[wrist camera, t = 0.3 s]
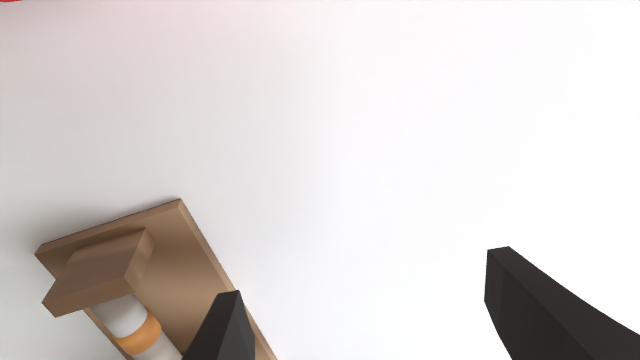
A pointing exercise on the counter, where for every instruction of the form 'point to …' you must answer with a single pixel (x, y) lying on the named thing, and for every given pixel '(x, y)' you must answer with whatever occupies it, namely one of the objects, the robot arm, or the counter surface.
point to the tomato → (8, 0)
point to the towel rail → (141, 282)
